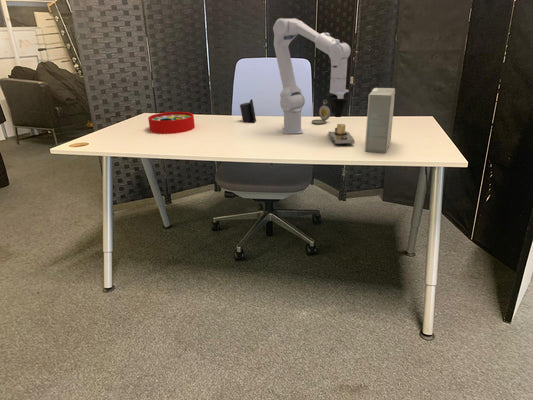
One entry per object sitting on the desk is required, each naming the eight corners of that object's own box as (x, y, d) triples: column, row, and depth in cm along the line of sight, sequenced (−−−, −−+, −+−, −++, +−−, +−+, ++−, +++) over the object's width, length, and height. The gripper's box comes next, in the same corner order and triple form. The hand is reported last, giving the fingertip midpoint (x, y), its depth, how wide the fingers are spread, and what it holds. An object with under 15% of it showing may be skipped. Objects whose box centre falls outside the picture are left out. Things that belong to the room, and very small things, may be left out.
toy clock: (188, 110, 188) (197, 118, 171) (190, 122, 190) (199, 131, 173) (145, 114, 181) (150, 122, 164) (147, 126, 184) (152, 136, 167)
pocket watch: (310, 124, 179) (310, 102, 175) (314, 120, 187) (314, 99, 182) (327, 125, 177) (328, 102, 173) (331, 121, 184) (332, 99, 180)
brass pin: (335, 139, 155) (336, 124, 152) (343, 139, 155) (344, 123, 152) (336, 141, 152) (337, 125, 149) (345, 141, 152) (346, 125, 149)
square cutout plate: (328, 134, 161) (328, 127, 160) (345, 134, 161) (345, 126, 160) (335, 146, 145) (335, 138, 144) (354, 146, 145) (354, 138, 144)
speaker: (260, 120, 189) (257, 98, 185) (254, 123, 184) (251, 101, 180) (246, 120, 192) (243, 99, 188) (240, 123, 188) (237, 101, 184)
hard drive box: (370, 140, 152) (374, 87, 144) (390, 142, 149) (396, 88, 141) (363, 151, 139) (368, 93, 131) (386, 153, 136) (392, 94, 128)
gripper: (353, 80, 139) (350, 118, 144) (345, 75, 152) (343, 110, 157) (333, 80, 139) (331, 119, 144) (327, 76, 152) (326, 111, 157)
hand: (336, 114), depth 151 cm, fingers open, 7 cm apart
